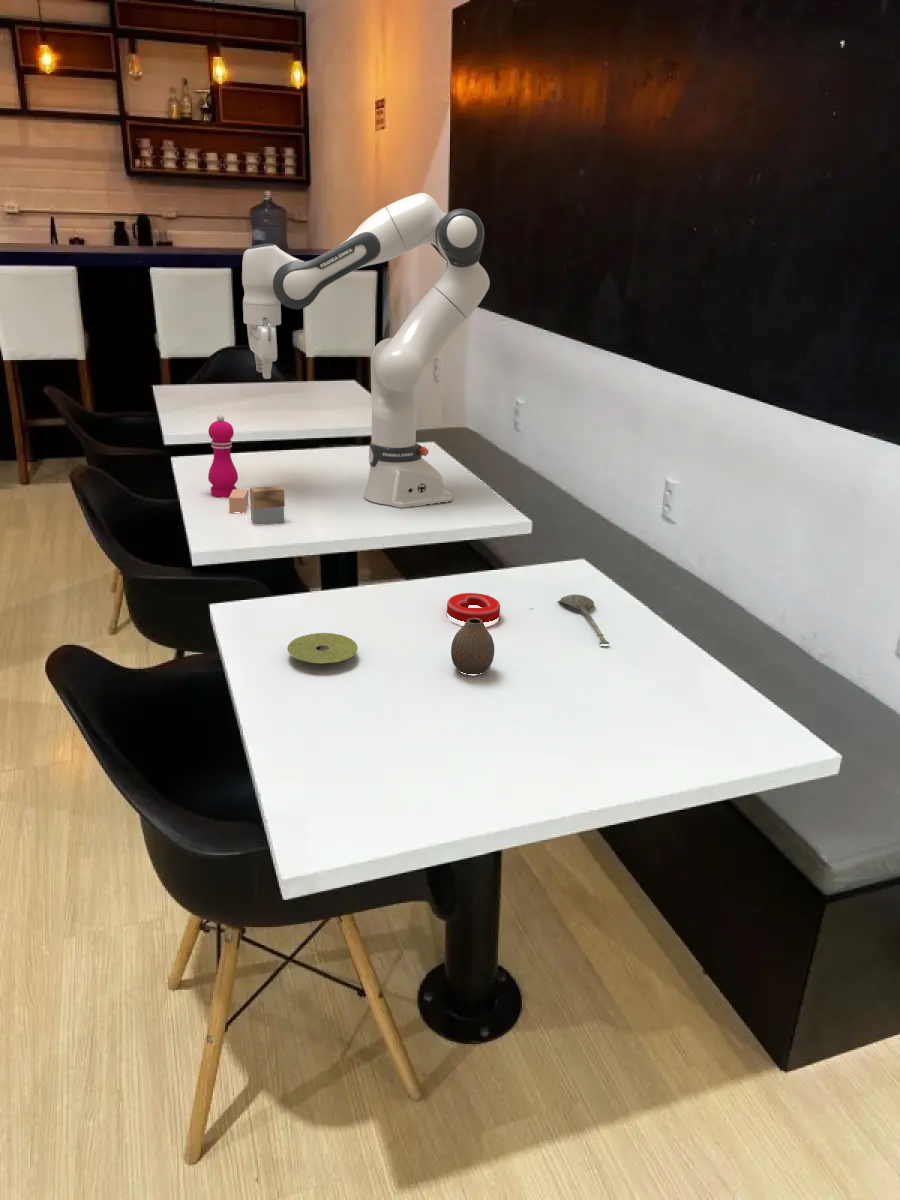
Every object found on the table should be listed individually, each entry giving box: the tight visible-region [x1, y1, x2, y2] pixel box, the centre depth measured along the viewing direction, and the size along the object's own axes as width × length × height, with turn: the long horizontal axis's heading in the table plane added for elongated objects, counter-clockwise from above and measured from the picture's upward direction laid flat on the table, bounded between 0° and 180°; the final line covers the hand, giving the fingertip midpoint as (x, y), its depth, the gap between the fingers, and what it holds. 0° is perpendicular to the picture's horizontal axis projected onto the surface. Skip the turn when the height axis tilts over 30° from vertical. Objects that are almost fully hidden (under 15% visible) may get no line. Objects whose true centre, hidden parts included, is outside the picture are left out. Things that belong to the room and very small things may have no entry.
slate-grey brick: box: [250, 505, 285, 525], centre depth 211 cm, size 7×4×4 cm, turn 111°
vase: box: [450, 618, 495, 674], centre depth 145 cm, size 7×7×9 cm
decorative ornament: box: [446, 592, 501, 623], centre depth 166 cm, size 10×10×3 cm
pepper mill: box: [207, 414, 239, 498], centre depth 226 cm, size 7×7×20 cm
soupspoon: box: [559, 594, 610, 645], centre depth 167 cm, size 22×3×7 cm
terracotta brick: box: [228, 488, 249, 514], centre depth 218 cm, size 7×4×4 cm, turn 4°
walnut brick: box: [249, 484, 286, 509], centre depth 209 cm, size 7×4×4 cm, turn 116°
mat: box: [286, 632, 359, 664], centre depth 148 cm, size 11×11×2 cm
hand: (263, 375), depth 224 cm, fingers open, 8 cm apart
